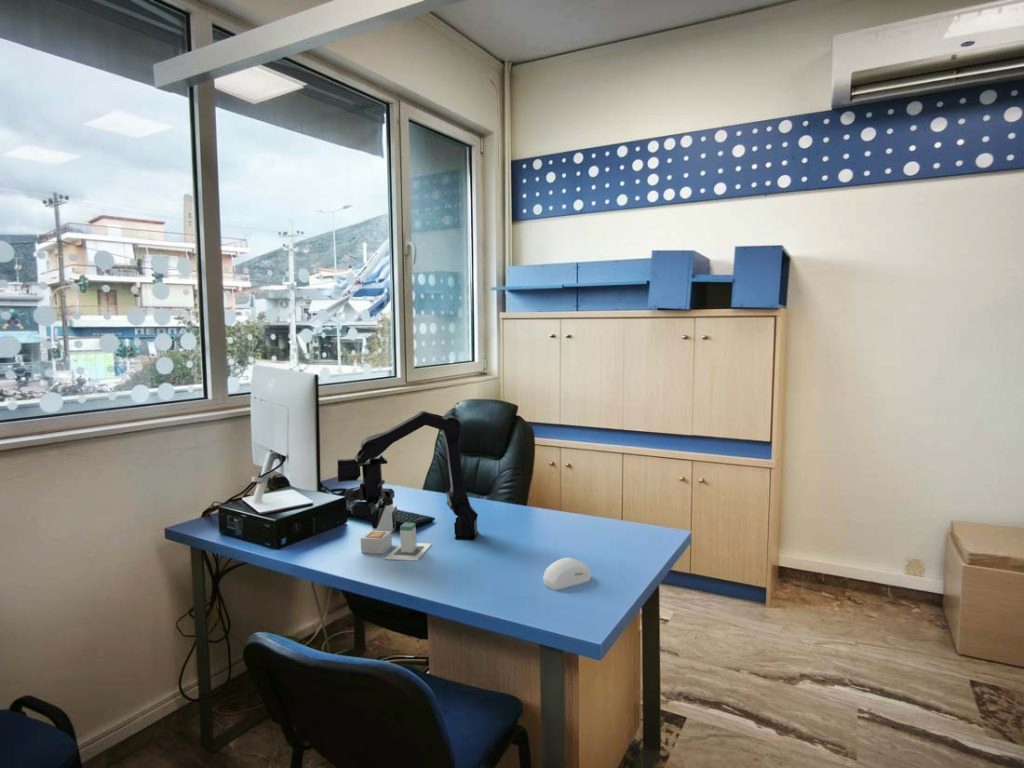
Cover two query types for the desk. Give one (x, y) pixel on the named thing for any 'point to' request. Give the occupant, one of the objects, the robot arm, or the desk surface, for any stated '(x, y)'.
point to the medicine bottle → (388, 517)
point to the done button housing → (376, 542)
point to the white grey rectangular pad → (414, 556)
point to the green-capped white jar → (408, 537)
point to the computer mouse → (566, 574)
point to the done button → (376, 535)
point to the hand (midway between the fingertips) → (375, 528)
